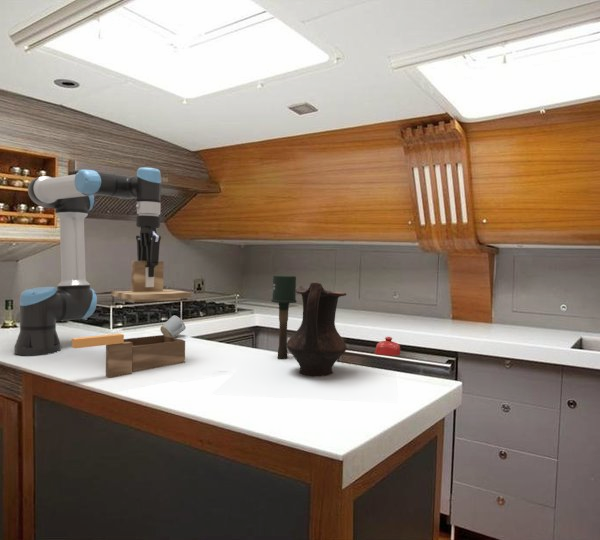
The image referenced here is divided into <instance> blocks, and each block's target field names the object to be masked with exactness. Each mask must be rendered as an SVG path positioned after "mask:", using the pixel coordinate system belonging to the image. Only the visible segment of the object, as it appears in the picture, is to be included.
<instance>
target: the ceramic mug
mask: <svg viewBox="0 0 600 540" xmlns="http://www.w3.org/2000/svg"><path fill="white" fill-rule="evenodd" d="M186 328H187V327H186V324H185V322H184V321H183V320H182V319H181V318H180V317H179V316H177V315H172V316H170V317H169V319H168V320H166V321H165V322H164V323H163V324H162V325H161V326H160V332H161V333H162V334H161V335H167V336H171V337H174V338H177V336H178V335H180V334H181V333H183V332H184V331H185V330H186Z"/></svg>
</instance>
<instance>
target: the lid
mask: <svg viewBox="0 0 600 540" xmlns="http://www.w3.org/2000/svg"><path fill="white" fill-rule="evenodd" d="M145 265H147V261H138V260H131V271H130V272H131V279H130V280H131V281H130V284H131V286H130V290H111V296H112V297H115V298H120V299H121V300H125V301H128V302H133V303H147V302H148V303H151V302H163V301H164V302H166V301H181V300H182V298H192V292H190V291H189V292H188V291H184V290H183V291H182V290H176V289H171V288H164V261H163V260H158V265H156V266H155V267H154V287H145V272H146V267H145Z"/></svg>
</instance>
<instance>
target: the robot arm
mask: <svg viewBox="0 0 600 540" xmlns="http://www.w3.org/2000/svg"><path fill="white" fill-rule="evenodd" d="M161 190H162V177H161V171H160V169H158V168H154V167H145V166H143V167H139V168H137V171H136V175H123V174H115V173H109V172H103V171H98V170H93V169H80V170H78V171H77V172H76V174H70V175H63V176H62V175H61V176H57V177H56V176H55V177H52V176H48V175H46V176H45V175H44V176H43V175H42V176H37V177H35V178H33V179H32V180H31V181H30V182H29V183H28V186H27V193H28V196H29V198H30V199H31V201H32V202H33V203H34V204H36V205H37V206H39V207H42V208H45V209H52V210H53V209H54V214H55V216H56V217H57V218H58V219H59V238H60V239H59V240H60V244H59V245H60V271H61V272H60V275H61V276H60V277H61V281H60V282H59V283H58V284H57V285H56V287H57V288H56V287H55V286H40V287H34V288H29V289H25V290H23V291H22V292H21V293H20V297H19V333H18V336H17V339H16V342H15V343H14V348H13V351H14V354H16V355H19V356H40V355H41V354H44V355H49V354H48V353H51V354H55V353H54V352H56V353H58V352H57V351H59V352H61V351H62V346H61V345H62V343H61V340H60V338H59V336H58V332H57V328H56V327H57V325H56V323H57V322H61V321H69V320H70V321H72V320H82V319H88V318H90V317H91V316H92V315H93V314H94V313H95V311H96V308H97V305H98V296H97V294H96V291H95V290H94V289H93V288H91V283H90V282H88V281H87V277H86V249H85V248H86V247H85V246H86V244H85V240H86V239H85V219H86V218H87V217H88V215H89V212H90V211H92V210H93V207H94V204H95V196H103V197H111V198H118V199H120V200H133V199H136V205H135V208H136V214H137V216H136V221H135V223H136V227H137V228H140V230H139V235H135V238H136V239H135V240H136V250H137V251H136V253H137V254H136V255H137V261H147V265H145V267H146V272H145V287H154V267H155V266H156V265H158V261H160V260H159V259H160V258H159V255H160V246H161V245H160V244H161V239H162V236H161V235H158V233H157V229H159V228H161V217H160V216H161V200H162V199H161V193H162V191H161ZM41 356H42V355H41Z"/></svg>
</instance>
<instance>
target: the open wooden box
mask: <svg viewBox="0 0 600 540" xmlns="http://www.w3.org/2000/svg"><path fill="white" fill-rule="evenodd" d="M185 363H186V340H184V339H181V338H177V337H175V338H174V337H171V336H167V335H163V334H160V335H149V336H140V337H131V338H124V343H120V344H111V345H105V377H106V378H108V379H109V378H110V379H111V378H117V377H124V376H128V375H132V374H133V373H137V372H143V371H147V370H153V369H157V368H163V367H169V366H174V365H179V364H185Z"/></svg>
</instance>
